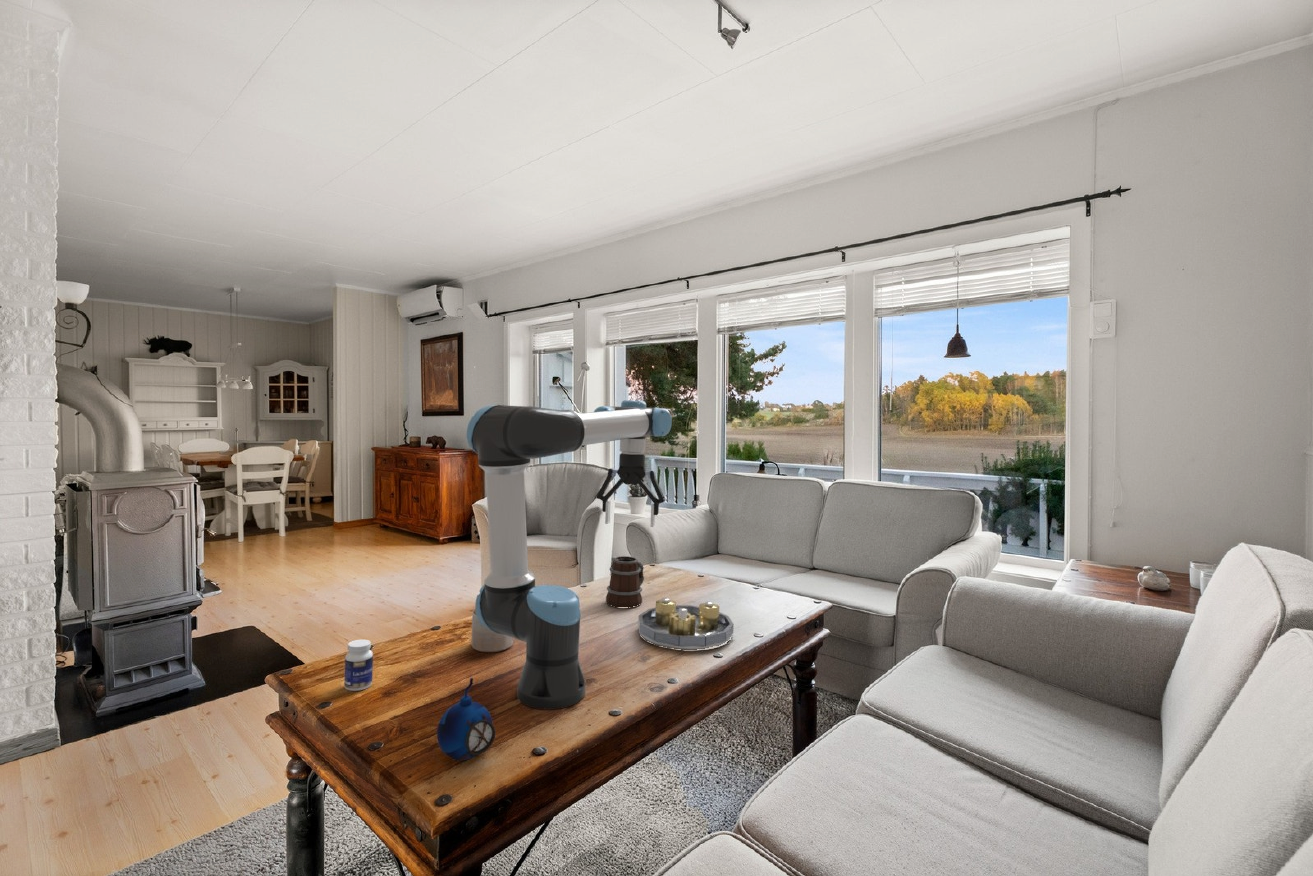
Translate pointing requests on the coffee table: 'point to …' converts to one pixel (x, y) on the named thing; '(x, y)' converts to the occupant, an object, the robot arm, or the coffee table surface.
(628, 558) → the mug
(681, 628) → the planet gear
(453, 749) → the bomb
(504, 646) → the planter
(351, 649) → the pill bottle
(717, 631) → the carrier
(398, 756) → the coffee table surface
